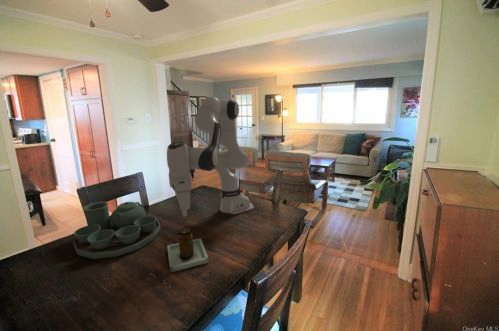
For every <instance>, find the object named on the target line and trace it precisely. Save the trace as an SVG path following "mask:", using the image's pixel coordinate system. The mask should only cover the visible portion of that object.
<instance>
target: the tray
mask: <svg viewBox="0 0 499 331" xmlns="http://www.w3.org/2000/svg"><path fill="white" fill-rule="evenodd" d="M193 248H194V252H195V253H196V254H197V255H198V256H199V257H197V258H194V259H192V260H190V261H187V262H183V261H182V260H181V259H180V258H179V257H178V256H177V253H180V248H179V242H177V243H173V244H172V243H171V244H168V245H167V255H168V263H169V264H168V265H169V271H170V272H169V273H174V272H178V271H183V270H186V269H189V268H192V267H193V266H194V267H196V266H197V265H198V266H200V265H205V264H208V263H210V258H209V255H208V252H207V251H206V248H205V245H204V242H203V240H202V238H201V237H200V238H195V239H194V238H193Z"/></svg>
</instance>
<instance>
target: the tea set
mask: <svg viewBox="0 0 499 331" xmlns="http://www.w3.org/2000/svg"><path fill="white" fill-rule="evenodd" d="M108 205H109V203H108V202H107V201H98V202H96V201H95V202H91V203H89V204H86V205H85V206H83V209H82V210H83V211H84V214H85V219H86V225H85V226H82V227H79V228H78V229H76V230H75V231H73V235H74V237H76V238H75V239H74V240H73V241H72V244H73V248H74V250H75V252H76V254H77V256H79V257H80V256H81V257H84V258H88V259H92V260H98V259H107V258H108V259H109V258H116V257H120V256H123V255H126V254H129V253H132V252H134V251H137V250H139V249H141V248H143V247H145V246H146V245H147V244H149V243H151V242H152V241H154V240H155V238H156V237H157V236H158V234H159V232H160V231H161V224H160V222H159V220H158V218H157V217H155V216H153V215H148V214H146V209H145V208H144V207H142V206H141V203H140V202H138V201H136V202H134V201H125V202H123V203H120V204H119V205H117V208H115V210H113V211H112V213H111V214H110V212H109V207H108Z"/></svg>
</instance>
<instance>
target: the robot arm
mask: <svg viewBox="0 0 499 331" xmlns="http://www.w3.org/2000/svg"><path fill="white" fill-rule="evenodd" d="M239 114H240V106H239V103H238V102H237V101H236V100H234V99H219V98H217V97H215V96H210V95H209V96H207V97H206V98H205V99H203V101H202V102H201V103H200V106H199V107H198V109H197V111H196V113H195V116H194V123H195V125H196V127H197V128H198V129H199V130H200V131H202V132H203V133H206V134H208V135H209V136H208V137H209V138H208V143H207V146H205V147H194V146H193V147H192V146H189V145H187V143H186V142H184V141H175V142H172V143H170V144H168V145H167V148H166V161H167V167H168V181H169V187H170V188H172V189H173V191H174V193H175V195H176V199H177V202H178V205H179V208H180V211H181V214H182V217H187V216H188V210H190V208H191V190H192V174H191V170H202V171H205V172H211V171H213V170H215V171H216V172H217V174H218V176H219V179H220V206H219V211H220V212H222V213H225V214H232V215H237V214H238V215H239V214H241V213H245V212H247V211H250V210H254V209H255V208H254V205H253V204H252V203H251V201H250V199H249V197H248V196H247V195H246V194H244V189H242V188H241V187H239V178H238V176H237V175H236V174H235V173H234V172H232V171H231V170H230V169H243V168H246V167H247V166H248V165H249V162H250V158H249V155H248V153H247V152H246V151H244V150H243V149H242V148H241V147H240V145H239V142H238V139H237V128H236V126H237V125H236V119H237V118H238V117H239ZM220 145H221V146H223V147H225V148H226V149H227V150H219V149H220ZM190 169H191V170H190Z"/></svg>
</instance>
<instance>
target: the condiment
mask: <svg viewBox="0 0 499 331" xmlns="http://www.w3.org/2000/svg"><path fill="white" fill-rule="evenodd" d="M178 234H179V235H178V243H179V248H180V253H177V256H178V257H179V258H180V259H181V260H182V261H183V262H187V261H190V260H192V259H194V258H197V257H199V256H198V255H197V254H196V253H195V252H194V248H193V240H194V237H193V232H192V230H191V228H188V227H185V228H181V229H179V231H178Z"/></svg>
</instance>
